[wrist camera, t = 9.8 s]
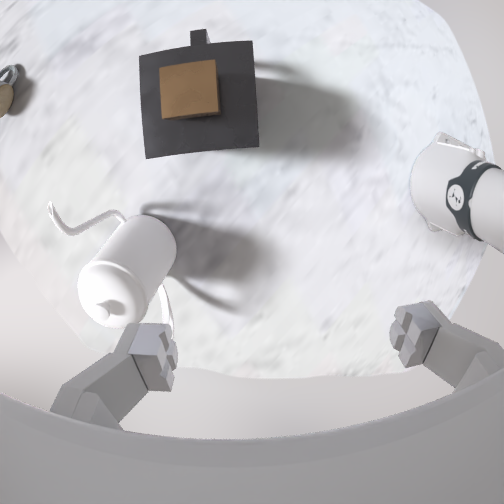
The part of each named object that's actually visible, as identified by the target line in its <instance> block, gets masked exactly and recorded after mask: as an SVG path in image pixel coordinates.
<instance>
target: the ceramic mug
mask: <svg viewBox="0 0 504 504" xmlns="http://www.w3.org/2000/svg"><path fill="white" fill-rule="evenodd" d="M9 70H12V71H13V72H14V74H13V76H12V78H11V80H10V81H9V83H6V82H3V81H0V118H1V117H3V116H4V115H5V114H6V112H7V111H8V110H9V108H10V106H11V104H12V101H13V95H14V92H13V88H12V85H13V84H14V82H15V81H16V79H17V76H18V70H17V68H16V67H15V66H13V65H9V66H6V67H5V68H3V69H2V70H1V71H0V78H1V77H2V76H3V75H4V74H5V73H6V72H8V71H9Z"/></svg>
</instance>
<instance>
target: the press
mask: <svg viewBox="0 0 504 504" xmlns="http://www.w3.org/2000/svg"><path fill="white" fill-rule="evenodd" d="M190 38H191V46H187V47H181V48H175V49H169V50H164V51H159V52H155V53H150V54H146V55H142V56H139V71H140V96H141V112H142V125H143V136H144V146H145V155H146V159H150V158H157V157H163V156H170V155H177V154H185V153H193V152H202V151H212V150H222V149H234V148H249V147H259V134H258V118H257V101H256V86H255V71H254V56H253V42H252V41H233V42H220V43H210V40H209V37H208V33H207V30H206V29H201V30H194V31H190ZM205 60H215V61H216V64H217V68H218V79H219V95H220V110H221V115H211V116H202V117H194V118H186V119H179V120H173V121H172V120H166V119H162V111H161V96H160V75H159V68H161V67H166V66H171V65H177V64H183V63H190V62H197V61H205Z"/></svg>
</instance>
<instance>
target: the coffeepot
mask: <svg viewBox="0 0 504 504" xmlns="http://www.w3.org/2000/svg"><path fill="white" fill-rule="evenodd" d="M48 213H49V215H50V217H51V218H52V220H53V222H54V223H55V225H56V226H57V227H58V229H59V230H60V231H62V232H63V233H64V234H66V235H69V236H75V235H78V234H80V233H81V232H83V231H85V230H87V229H89V228H90V227H92V226H94V225H96V224H97V223H99V222H101V221H103V220H105V219H106V218H108V217H110V216H116V217H117V218H118V219H119V220H120V221H121V224H120V225H119V226H118V228H117V229H116V230H115V231H114V232H113V234H112V235H111V236H110V237H109V239H108V240H107V241H106V242H105V244H104V245H103V246H102V248H101V249H100V250H99V251H98V253H97V254H96V255H95V257H94V258H93V259H92V261H91V262H89V263H88V264H87V265H86V266H85V267H84V268H83V269H82V271H81V272H80V275H79V278H78V291H79V297H80V301H81V304H82V306H83V308H84V309H85V311H86V312H87V313H88V315H89V316H90V317H91V318H92V319H94V320H95V321H96V322H98V323H99V324H101V325H103V326H106V327H109V328H113V329H122V328H126V326H127V324H129V323H139V322H140V321H141V320H142V319H143V318H144V316H145V315H146V312H147V310H148V305H149V303H150V302H151V300H152V298H153V297H154V295H155V293H156V292H157V290H158V292H159V295H160V299H161V304H162V311H163V323H162V324H169V325H170V326H171V329H172V332H173V334H172V338H171V339H172V340H173V337H174V321H173V315H172V310H171V306H170V302H169V299H168V296H167V293H166V290H165V288H164V285H163V280H164V278H165V277H166V275H167V274H168V272H169V270H170V269H171V267H172V265H173V263H174V261H175V258H176V252H177V248H176V242H175V239H174V236H173V234H172V233H171V231H170V230H169V228H168V227H167V226H166V225H165V224H164V223H163V222H161V221H160V220H158V219H156V218H154V217H151V216H147V215H136V216H132V217H130V218H128V219H125V217H124V216H123V215H122V214H121V213H120V212H119V211H117V210H109V211H107V212H104V213H102V214H100V215H98V216H96V217H95V218H93V219H91V220H89V221H87V222H85V223H83V224H81V225H79V226H77V227H75V228H70V227H68V226H67V225H66V224H65V223H64V222H63V221H62V220H61V218H60V217H59V215H58V213H57V212H56V210H55V208H54V206H53V204H52V202H51V201H50V202H49V203H48Z"/></svg>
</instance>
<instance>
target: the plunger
mask: <svg viewBox="0 0 504 504" xmlns="http://www.w3.org/2000/svg"><path fill="white" fill-rule="evenodd" d="M159 75H160V96H161V111H162V119H166V120H172V121H173V120H179V119H186V118H194V117H202V116H211V115H221V110H220V95H219V79H218V68H217V64H216V61H215V60H205V61H197V62H190V63H183V64H177V65H171V66H166V67H161V68H159Z"/></svg>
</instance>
